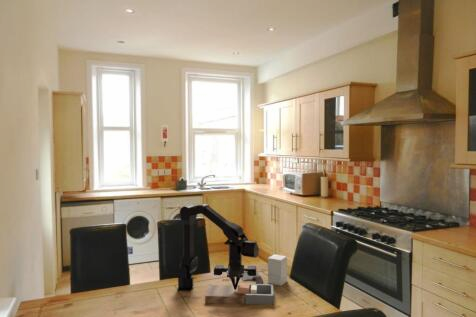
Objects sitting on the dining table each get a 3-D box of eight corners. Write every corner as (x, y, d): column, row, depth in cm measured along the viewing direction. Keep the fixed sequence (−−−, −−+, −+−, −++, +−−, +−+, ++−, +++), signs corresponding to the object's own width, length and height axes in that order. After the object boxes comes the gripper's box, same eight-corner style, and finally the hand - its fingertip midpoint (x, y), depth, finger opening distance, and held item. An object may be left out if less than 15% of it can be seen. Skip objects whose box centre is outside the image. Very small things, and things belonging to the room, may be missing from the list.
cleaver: (268, 290, 168) (268, 286, 168) (248, 292, 167) (248, 288, 167) (254, 269, 197) (254, 266, 197) (237, 271, 196) (237, 267, 196)
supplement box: (287, 281, 179) (287, 256, 179) (281, 286, 173) (281, 260, 172) (274, 278, 183) (274, 253, 183) (267, 283, 177) (267, 257, 176)
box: (245, 303, 154) (245, 294, 154) (247, 292, 166) (246, 283, 166) (273, 304, 153) (273, 295, 153) (273, 292, 165) (273, 284, 165)
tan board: (205, 302, 156) (205, 295, 156) (209, 291, 168) (209, 284, 167) (244, 303, 154) (244, 297, 154) (245, 292, 166) (245, 285, 166)
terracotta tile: (237, 293, 158) (237, 287, 158) (238, 288, 163) (238, 283, 163) (248, 293, 158) (249, 288, 157) (249, 289, 163) (249, 283, 162)
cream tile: (250, 289, 157) (256, 289, 157) (251, 284, 162) (256, 285, 162) (250, 300, 158) (256, 300, 157) (251, 295, 163) (256, 296, 162)
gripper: (211, 260, 152) (211, 296, 153) (255, 261, 151) (255, 297, 152) (215, 252, 164) (215, 286, 164) (256, 253, 162) (256, 287, 163)
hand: (235, 289), depth 160 cm, fingers closed
